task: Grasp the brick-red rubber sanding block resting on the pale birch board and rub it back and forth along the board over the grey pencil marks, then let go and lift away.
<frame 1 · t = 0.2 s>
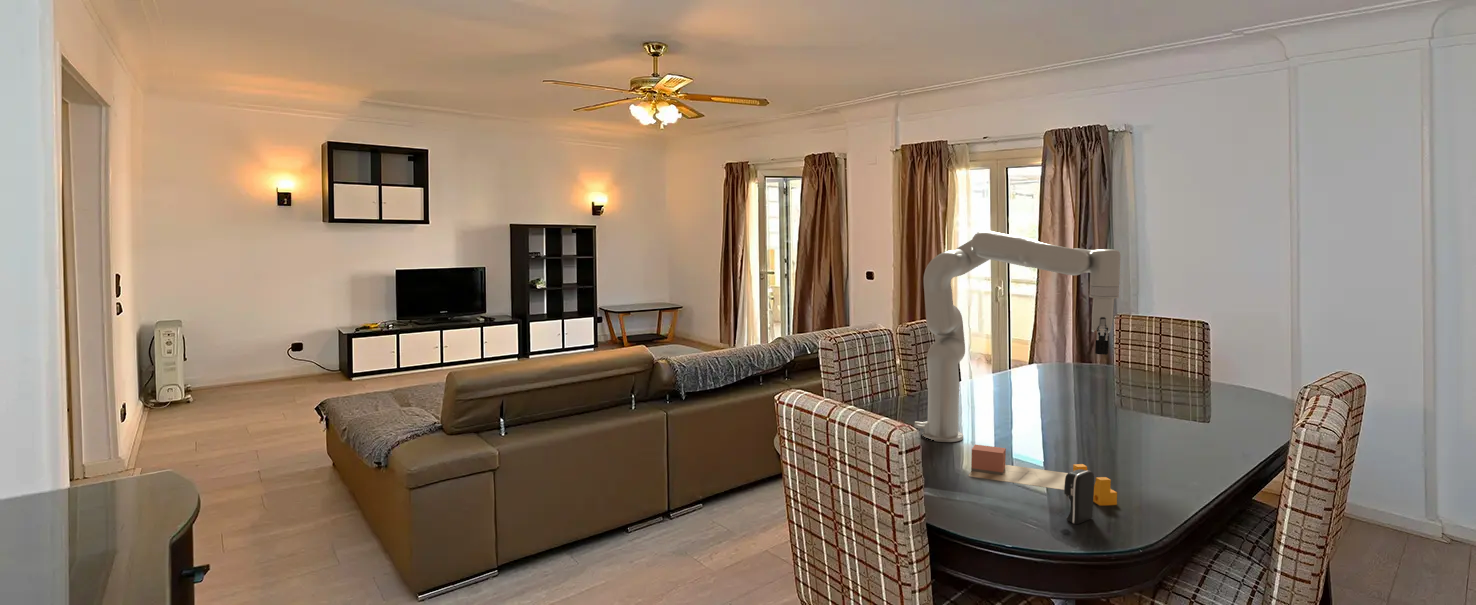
hand: (1101, 351, 210), 31 cm above the table, tool pointing down, fingers open, 9 cm apart
sanding block: (988, 470, 197), point 1 cm above the table, touching board
board: (1019, 480, 193), on the table
battery charger: (1077, 520, 167), on the table
pipe clamp: (1093, 497, 181), on the table
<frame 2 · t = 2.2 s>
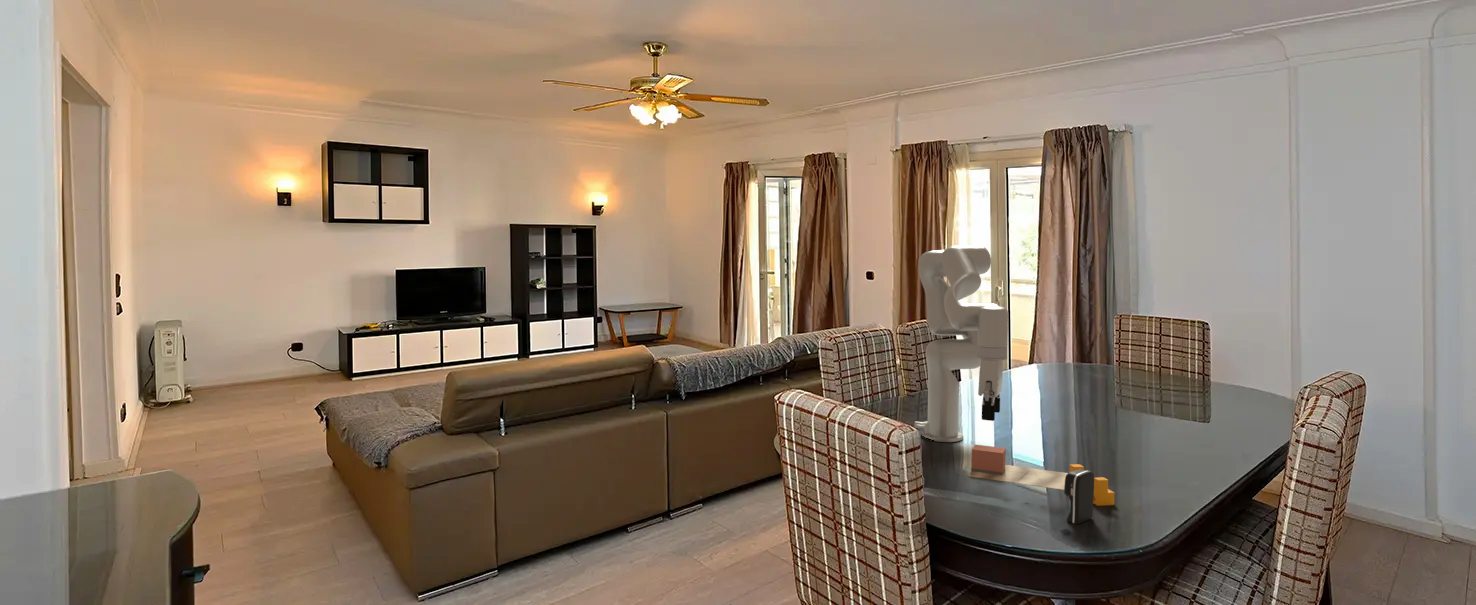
hand: (990, 415, 195), 17 cm above the table, tool pointing down, fingers open, 9 cm apart
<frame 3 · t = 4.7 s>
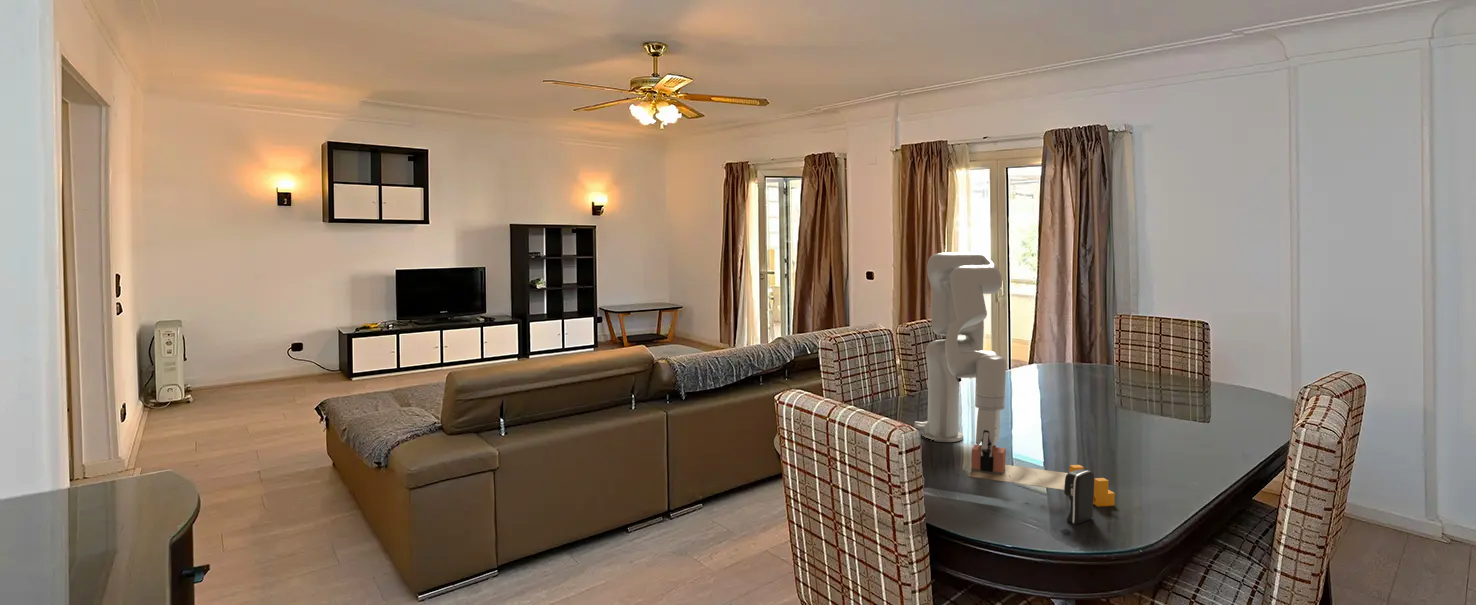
hand: (988, 467, 197), 2 cm above the table, tool pointing down, fingers closed on sanding block, 5 cm apart
sanding block: (988, 470, 197), point 2 cm above the table, touching board, gripper
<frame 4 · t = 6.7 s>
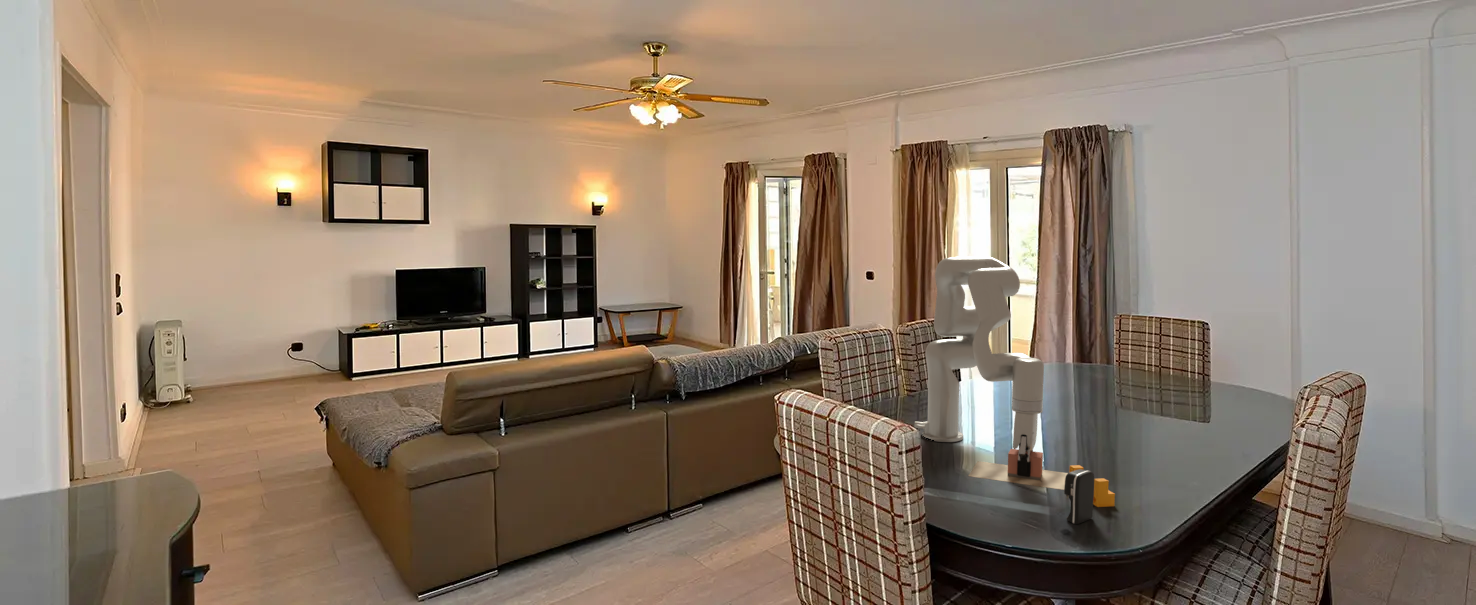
hand: (1025, 471, 192), 2 cm above the table, tool pointing down, fingers closed on sanding block, 5 cm apart
sanding block: (1024, 475, 192), point 2 cm above the table, touching gripper
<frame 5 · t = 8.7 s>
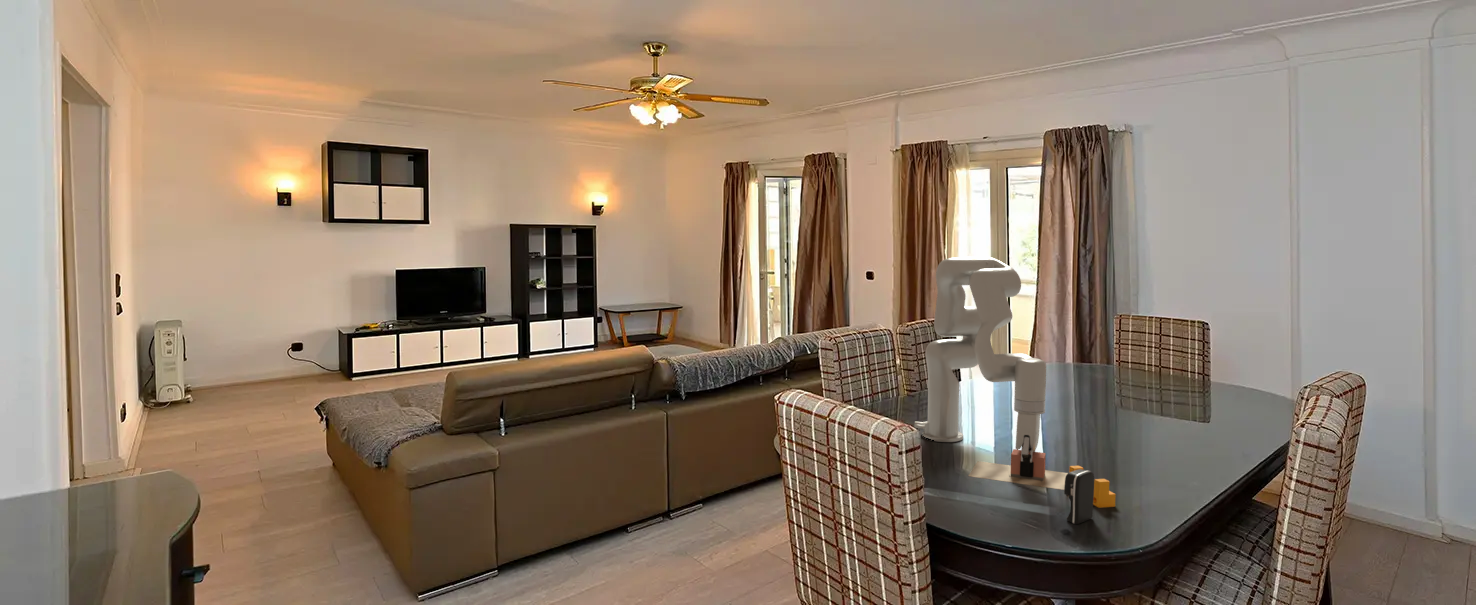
hand: (1027, 472, 192), 2 cm above the table, tool pointing down, fingers closed on sanding block, 5 cm apart
sanding block: (1027, 475, 192), point 2 cm above the table, touching gripper
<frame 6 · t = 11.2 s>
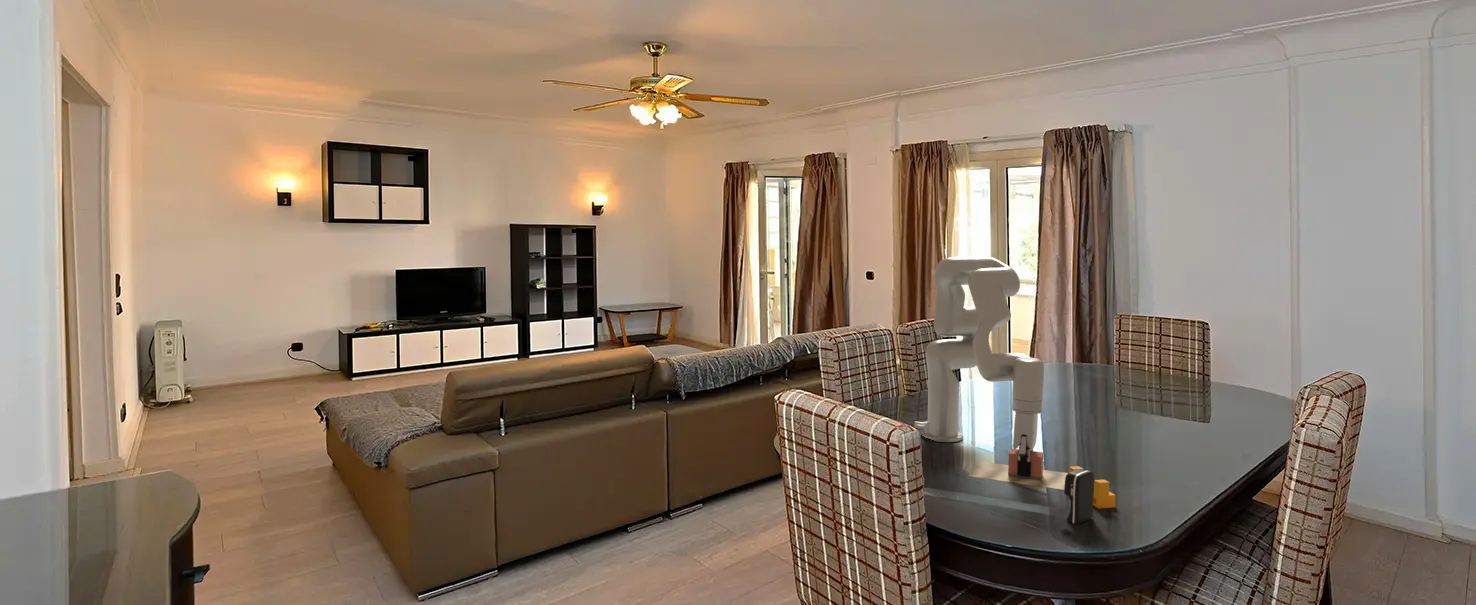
hand: (1025, 471, 192), 2 cm above the table, tool pointing down, fingers closed on sanding block, 5 cm apart
sanding block: (1025, 475, 192), point 2 cm above the table, touching gripper
when the fingers open (2 cm above the table, at t = 13.1 s): sanding block stays where it is, resting on board.
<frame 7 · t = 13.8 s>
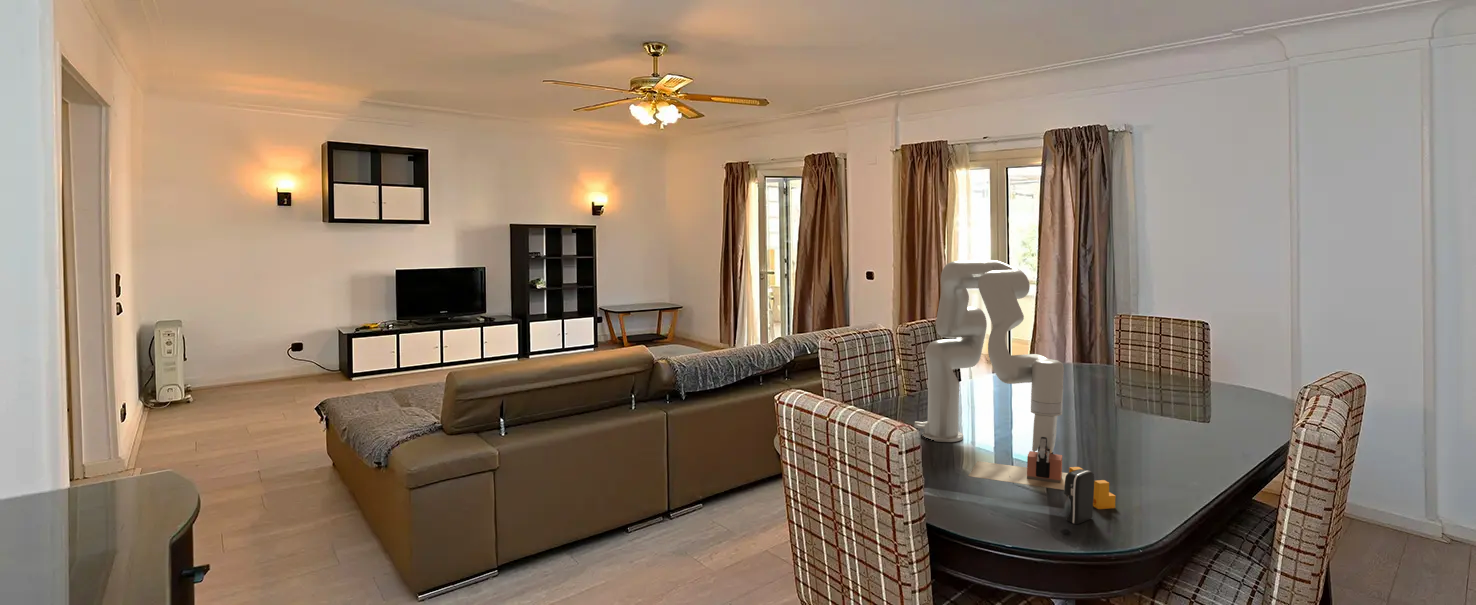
hand: (1044, 471, 190), 3 cm above the table, tool pointing down, fingers open, 9 cm apart
sanding block: (1044, 478, 190), point 1 cm above the table, touching board
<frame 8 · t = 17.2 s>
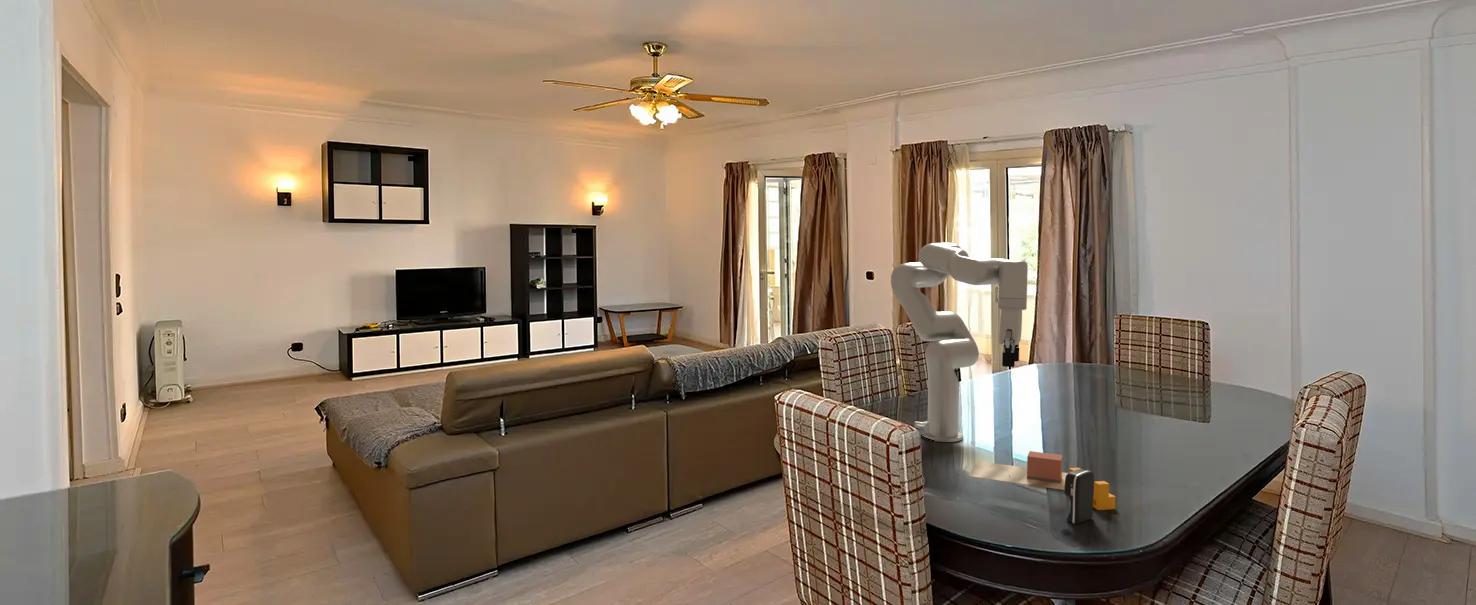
hand: (1010, 363, 207), 28 cm above the table, tool pointing down, fingers open, 9 cm apart
at the end: sanding block inside the target area (0.5 cm from its centre), point 1.5 cm above the table; sanding block moved 14.0 cm from its start; the gripper is holding nothing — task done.
